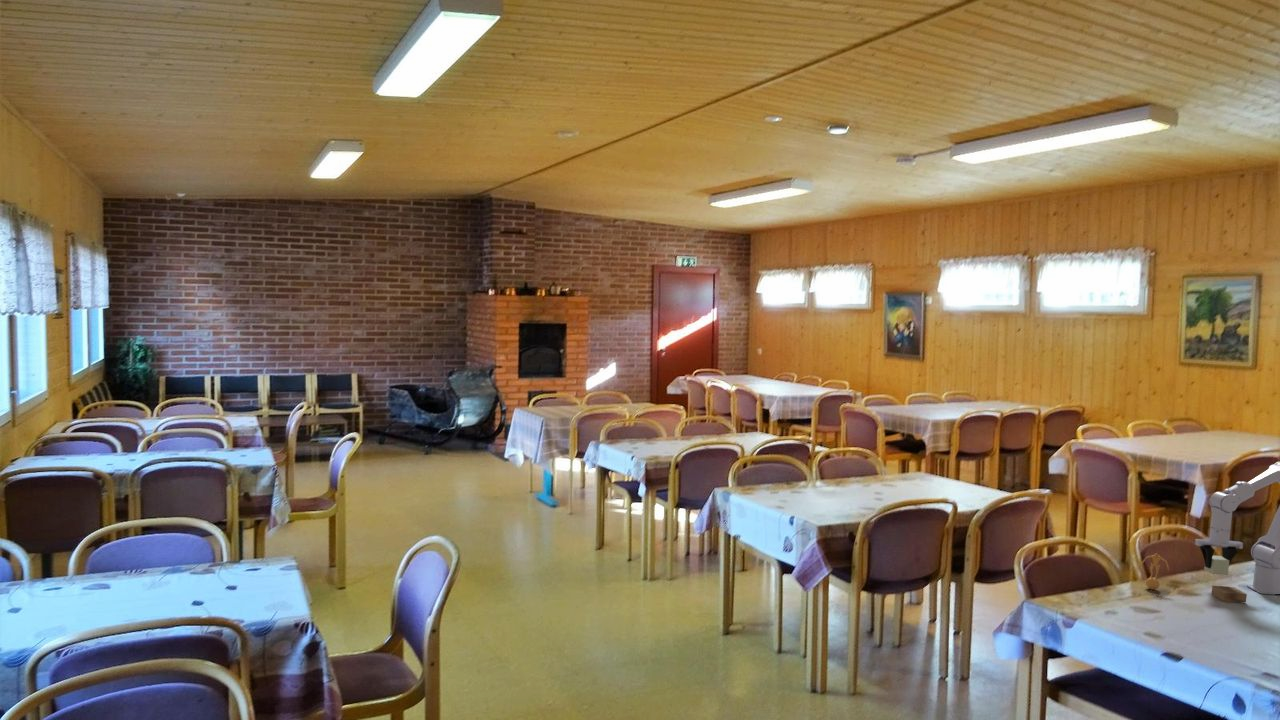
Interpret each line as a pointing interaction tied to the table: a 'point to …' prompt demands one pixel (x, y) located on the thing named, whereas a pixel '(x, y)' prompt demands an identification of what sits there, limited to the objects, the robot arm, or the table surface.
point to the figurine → (1152, 582)
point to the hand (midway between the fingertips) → (1216, 567)
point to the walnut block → (1228, 594)
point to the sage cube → (1218, 565)
